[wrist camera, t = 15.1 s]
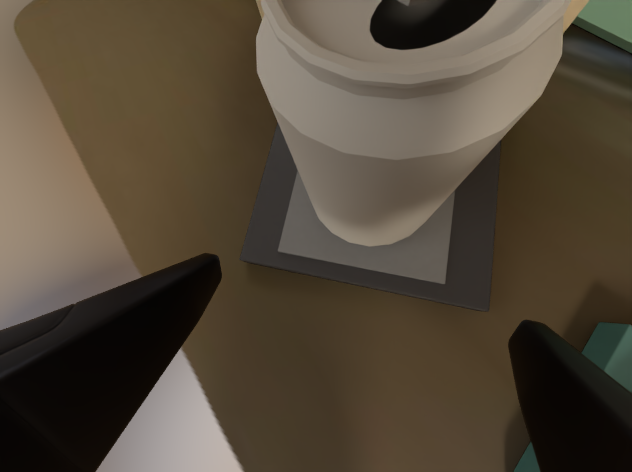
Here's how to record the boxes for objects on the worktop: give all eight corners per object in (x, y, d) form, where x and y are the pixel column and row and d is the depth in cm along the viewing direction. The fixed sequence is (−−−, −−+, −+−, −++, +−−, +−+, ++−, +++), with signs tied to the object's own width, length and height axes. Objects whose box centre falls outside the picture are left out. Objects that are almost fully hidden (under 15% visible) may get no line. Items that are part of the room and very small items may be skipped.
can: (353, 273, 15) (357, 190, 4) (291, 178, 17) (171, -60, 6) (459, 205, 16) (769, -72, 4) (384, 119, 18) (446, -227, 6)
